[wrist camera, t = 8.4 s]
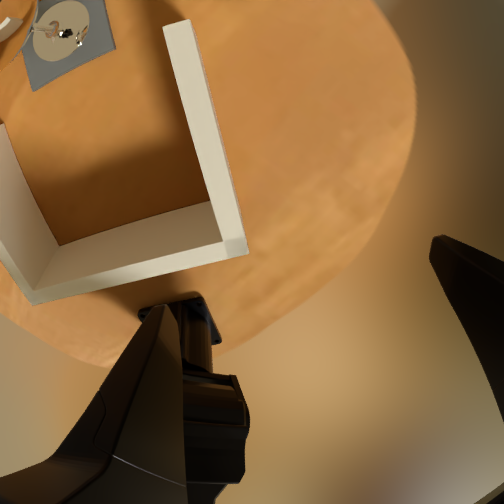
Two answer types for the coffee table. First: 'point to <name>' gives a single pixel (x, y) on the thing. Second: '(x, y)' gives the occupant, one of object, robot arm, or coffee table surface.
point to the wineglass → (42, 29)
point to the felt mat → (91, 48)
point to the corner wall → (136, 233)
